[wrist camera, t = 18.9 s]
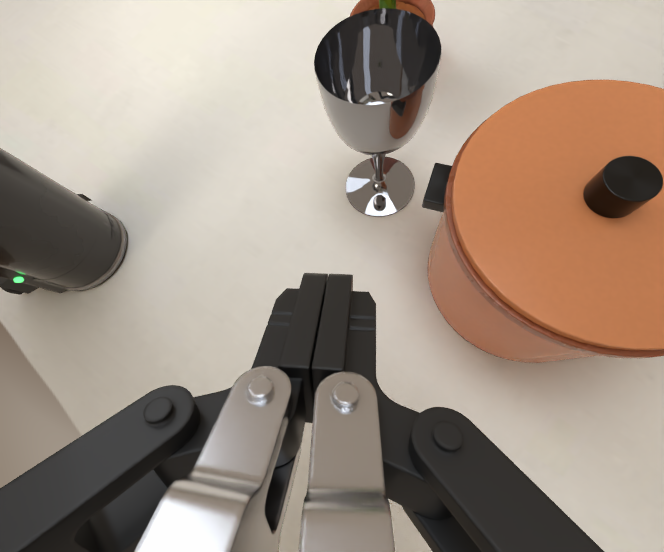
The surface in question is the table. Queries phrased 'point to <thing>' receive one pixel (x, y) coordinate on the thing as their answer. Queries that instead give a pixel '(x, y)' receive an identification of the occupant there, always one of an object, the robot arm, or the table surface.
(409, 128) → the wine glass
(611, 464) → the table surface
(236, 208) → the table surface
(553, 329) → the copper pot
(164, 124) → the table surface
